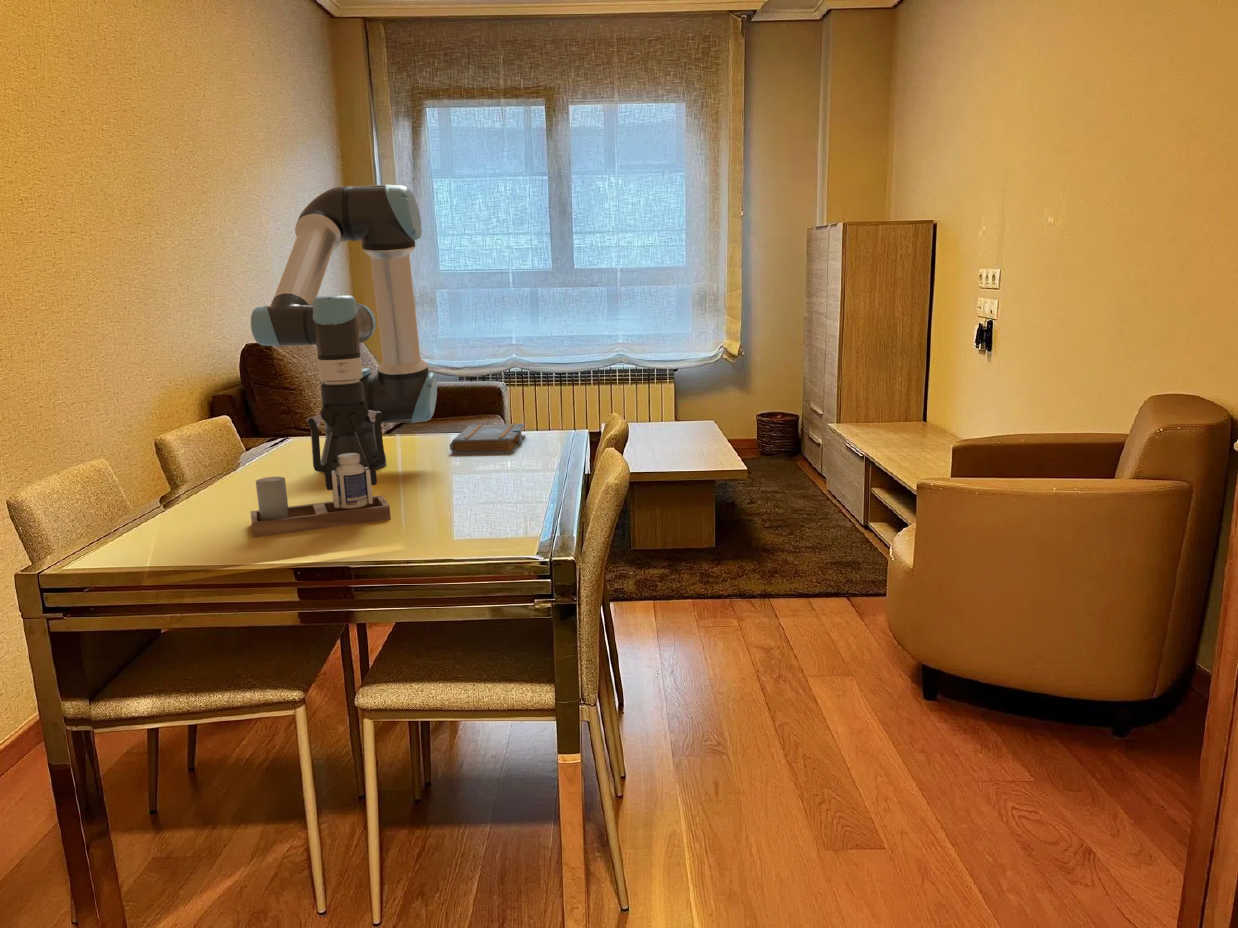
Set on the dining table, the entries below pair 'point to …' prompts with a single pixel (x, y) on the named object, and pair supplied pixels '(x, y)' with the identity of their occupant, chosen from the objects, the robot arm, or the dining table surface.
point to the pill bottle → (351, 481)
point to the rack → (320, 517)
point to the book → (488, 439)
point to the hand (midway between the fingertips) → (353, 503)
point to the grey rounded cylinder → (272, 498)
